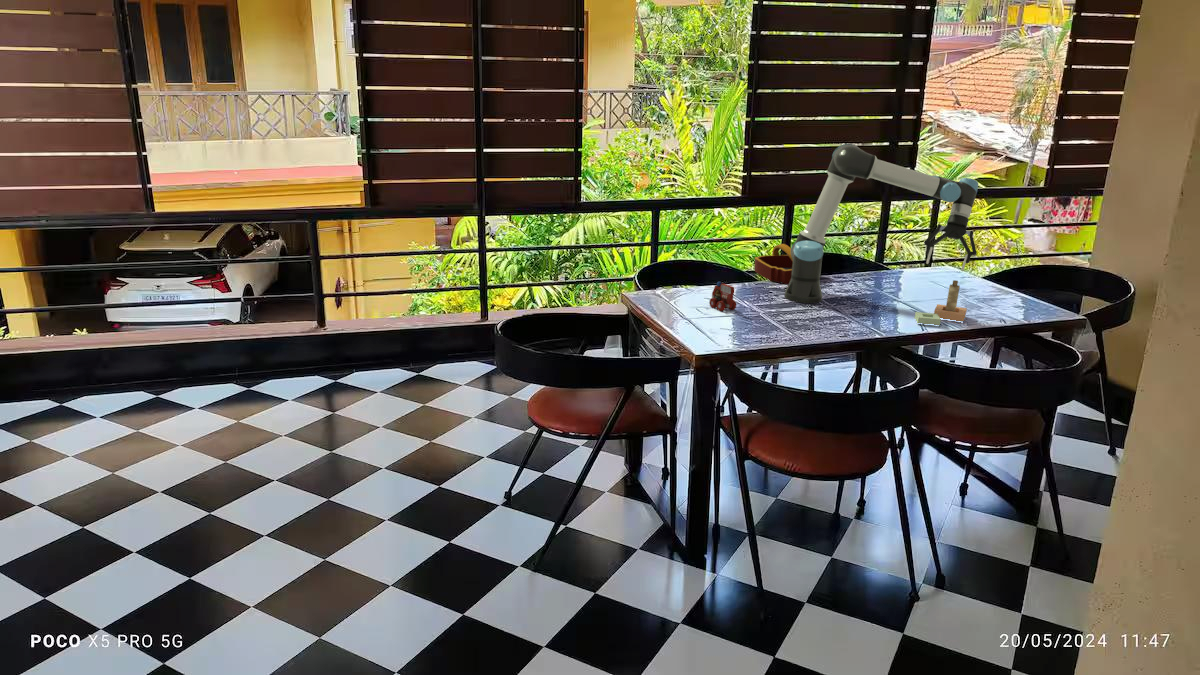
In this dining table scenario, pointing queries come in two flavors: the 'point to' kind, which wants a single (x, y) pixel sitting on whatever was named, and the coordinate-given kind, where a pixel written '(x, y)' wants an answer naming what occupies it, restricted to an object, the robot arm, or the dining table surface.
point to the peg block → (952, 296)
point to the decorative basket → (775, 265)
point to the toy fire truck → (722, 297)
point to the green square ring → (927, 318)
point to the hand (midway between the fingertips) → (944, 266)
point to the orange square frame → (950, 313)
